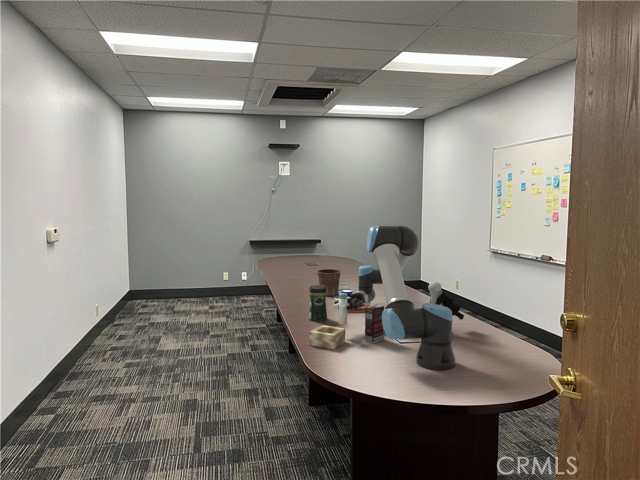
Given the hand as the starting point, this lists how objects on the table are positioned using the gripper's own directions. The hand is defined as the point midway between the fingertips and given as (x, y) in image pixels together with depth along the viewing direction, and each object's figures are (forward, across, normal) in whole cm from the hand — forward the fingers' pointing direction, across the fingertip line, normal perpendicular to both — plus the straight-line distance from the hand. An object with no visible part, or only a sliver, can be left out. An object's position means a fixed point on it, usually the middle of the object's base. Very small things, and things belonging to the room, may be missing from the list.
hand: (338, 308), depth 213 cm
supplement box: (-7, -15, -15) cm, 22 cm away
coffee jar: (-27, +25, -14) cm, 40 cm away
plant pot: (-86, +48, -13) cm, 100 cm away
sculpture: (-37, -39, -15) cm, 56 cm away
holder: (+7, +2, -15) cm, 16 cm away
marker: (-5, 0, -8) cm, 10 cm away
